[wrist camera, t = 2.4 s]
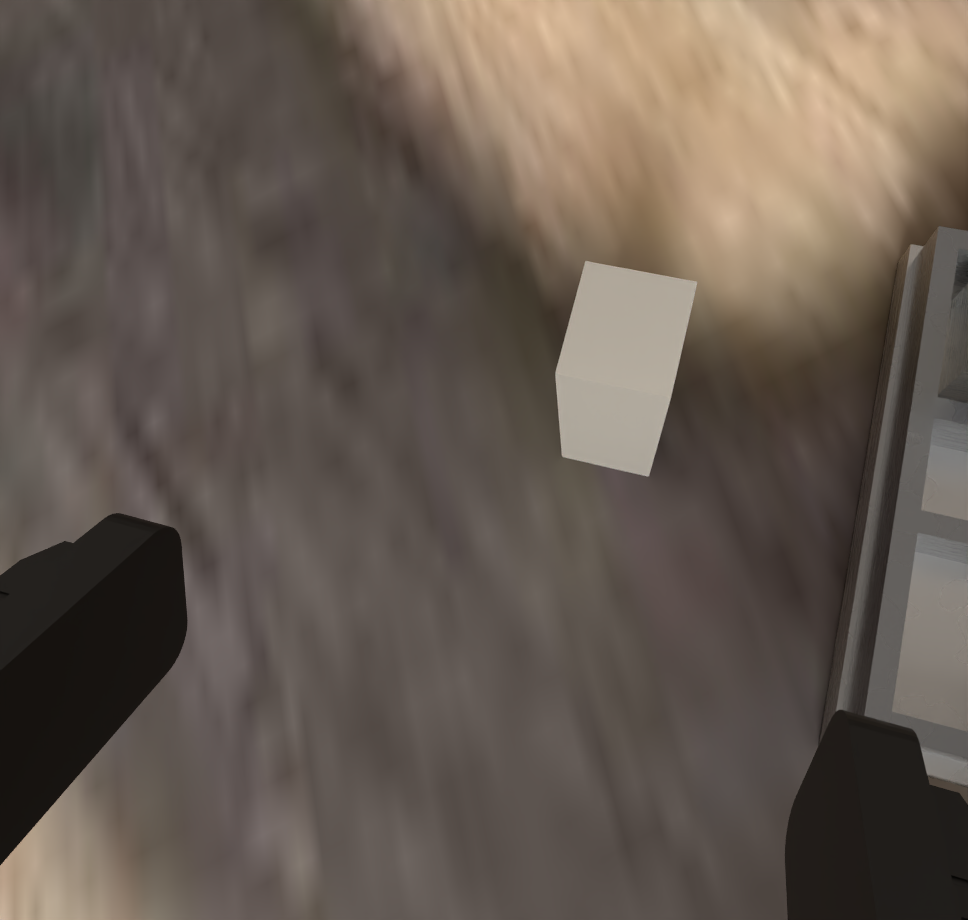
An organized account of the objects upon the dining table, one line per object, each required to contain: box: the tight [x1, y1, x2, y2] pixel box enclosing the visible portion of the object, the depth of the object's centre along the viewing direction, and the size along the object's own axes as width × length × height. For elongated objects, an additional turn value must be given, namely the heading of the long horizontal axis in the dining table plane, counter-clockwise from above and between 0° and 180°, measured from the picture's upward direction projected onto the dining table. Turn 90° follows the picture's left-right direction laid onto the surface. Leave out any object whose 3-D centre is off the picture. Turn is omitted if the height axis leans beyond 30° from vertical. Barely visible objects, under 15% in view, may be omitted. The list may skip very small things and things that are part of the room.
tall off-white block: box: [555, 261, 697, 477], centre depth 31 cm, size 4×4×9 cm
